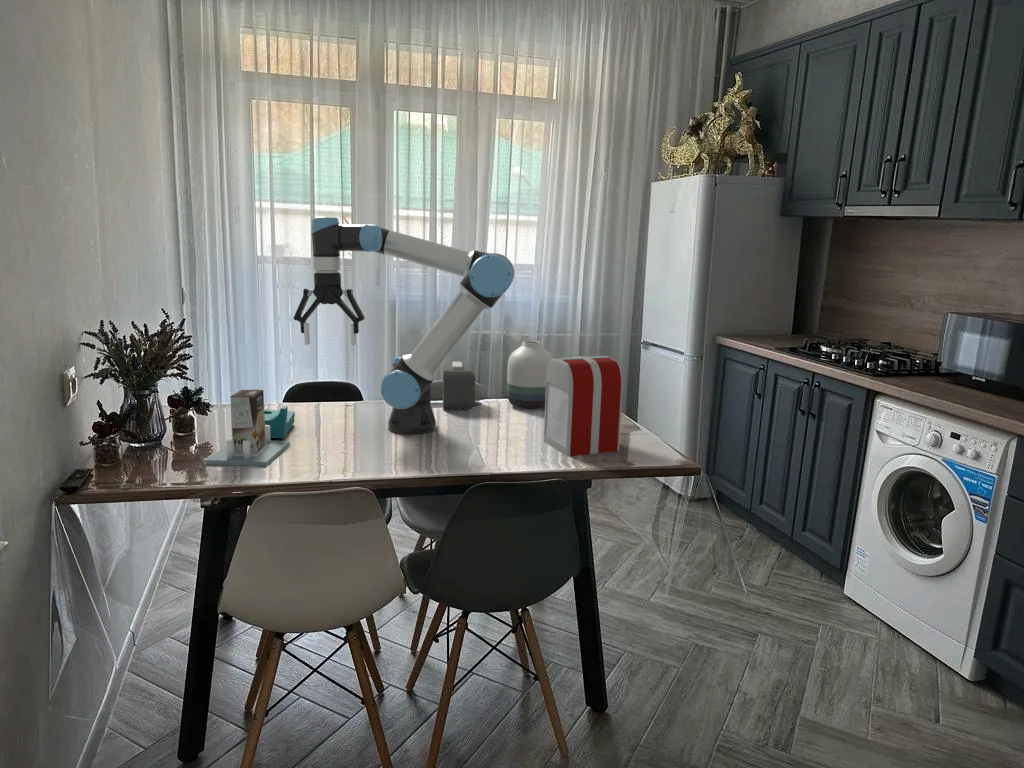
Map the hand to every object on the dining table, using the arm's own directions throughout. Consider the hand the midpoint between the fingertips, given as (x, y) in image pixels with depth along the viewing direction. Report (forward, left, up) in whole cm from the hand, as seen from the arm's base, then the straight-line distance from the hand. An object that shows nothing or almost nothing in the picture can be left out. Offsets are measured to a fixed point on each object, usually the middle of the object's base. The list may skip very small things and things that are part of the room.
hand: (330, 344), depth 206 cm
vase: (-60, -47, -29) cm, 81 cm away
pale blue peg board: (+18, +19, -28) cm, 39 cm away
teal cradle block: (+20, -3, -29) cm, 35 cm away
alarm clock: (-34, -45, -29) cm, 63 cm away
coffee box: (+18, +19, -27) cm, 38 cm away
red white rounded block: (-75, +1, -29) cm, 80 cm away
